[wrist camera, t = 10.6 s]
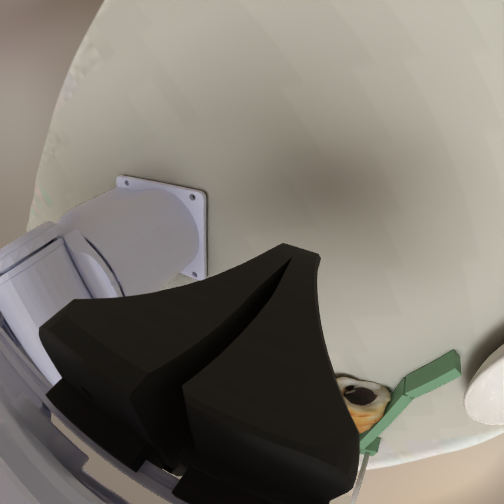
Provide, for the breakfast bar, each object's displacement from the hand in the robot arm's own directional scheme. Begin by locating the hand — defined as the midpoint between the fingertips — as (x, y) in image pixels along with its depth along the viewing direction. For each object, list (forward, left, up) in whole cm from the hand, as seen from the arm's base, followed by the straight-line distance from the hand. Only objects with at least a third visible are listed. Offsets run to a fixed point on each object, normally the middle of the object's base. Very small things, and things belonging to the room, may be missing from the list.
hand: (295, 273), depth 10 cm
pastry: (+7, -20, -10) cm, 23 cm away
